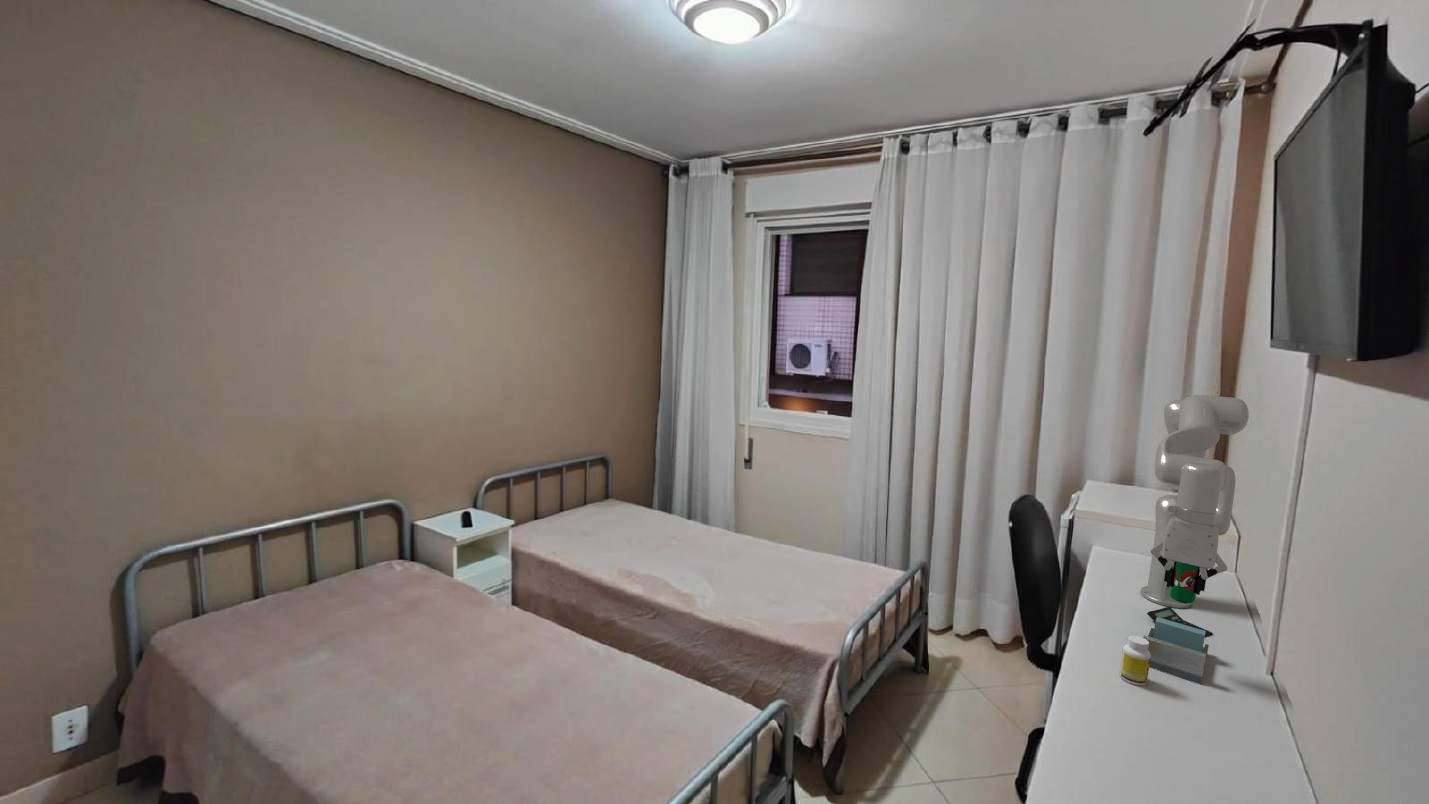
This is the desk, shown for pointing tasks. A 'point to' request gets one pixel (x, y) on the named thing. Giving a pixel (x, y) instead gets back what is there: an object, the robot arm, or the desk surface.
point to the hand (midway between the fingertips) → (1183, 588)
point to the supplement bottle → (1135, 661)
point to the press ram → (1179, 634)
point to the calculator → (1173, 618)
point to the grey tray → (1176, 659)
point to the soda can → (1184, 582)
